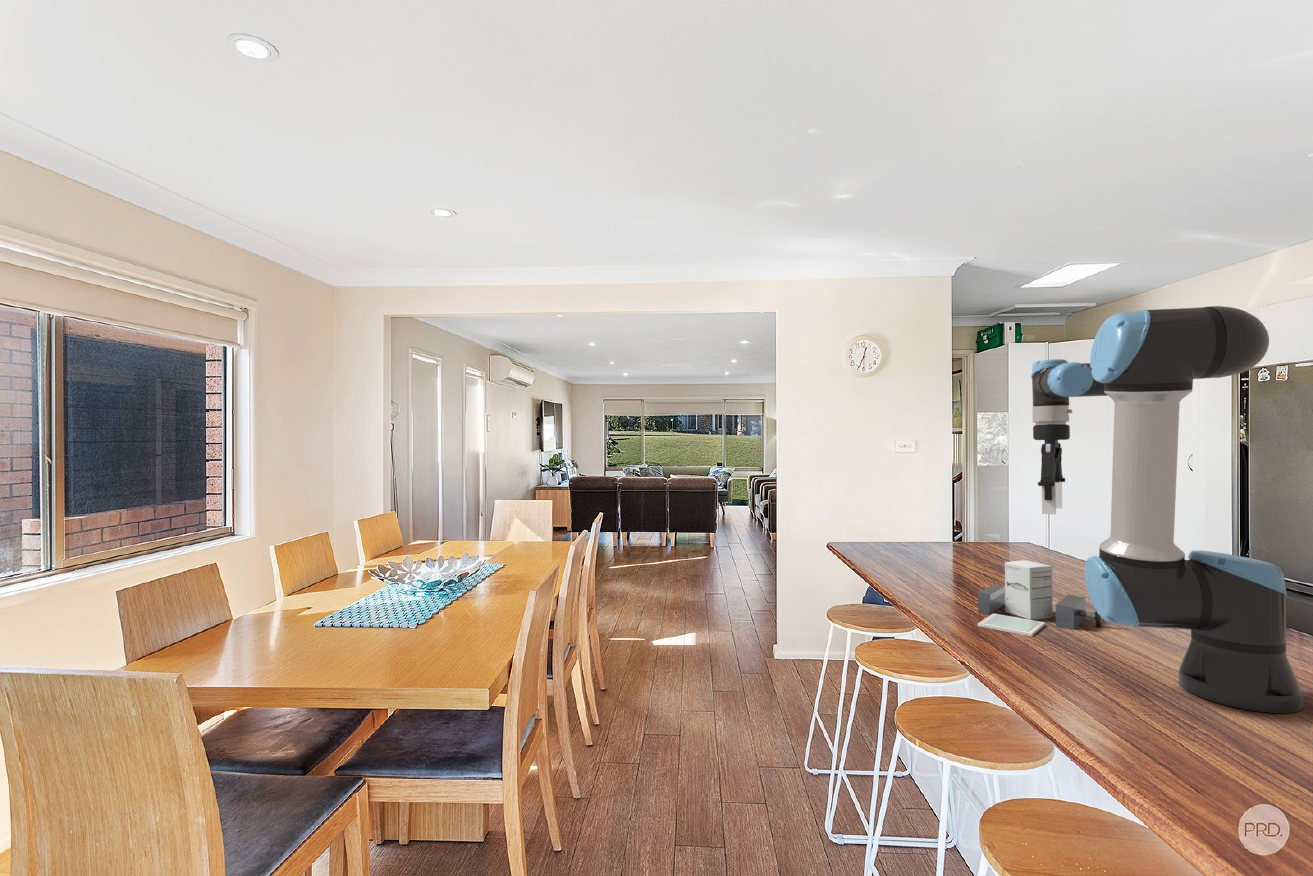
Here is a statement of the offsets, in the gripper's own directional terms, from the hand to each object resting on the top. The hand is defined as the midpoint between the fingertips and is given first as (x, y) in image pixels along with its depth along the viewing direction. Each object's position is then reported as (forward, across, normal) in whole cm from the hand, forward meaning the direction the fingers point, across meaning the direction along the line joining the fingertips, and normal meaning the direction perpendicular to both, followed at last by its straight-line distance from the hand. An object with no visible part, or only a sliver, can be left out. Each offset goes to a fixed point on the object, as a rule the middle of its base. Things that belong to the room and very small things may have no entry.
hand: (1052, 511), depth 149 cm
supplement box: (+26, -4, +5) cm, 26 cm away
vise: (+25, -4, +2) cm, 26 cm away
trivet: (+25, -15, +7) cm, 30 cm away
